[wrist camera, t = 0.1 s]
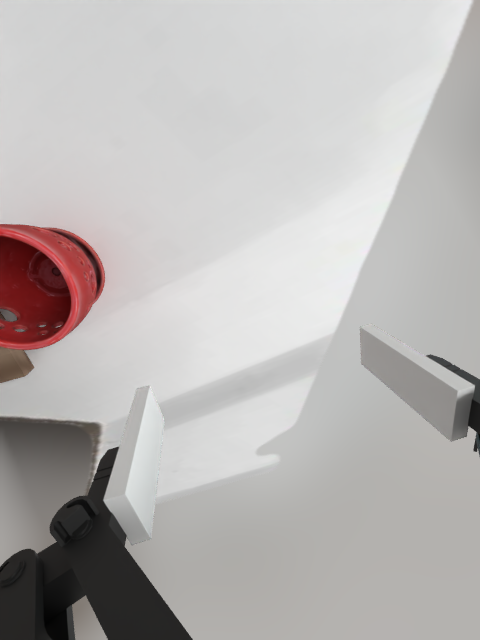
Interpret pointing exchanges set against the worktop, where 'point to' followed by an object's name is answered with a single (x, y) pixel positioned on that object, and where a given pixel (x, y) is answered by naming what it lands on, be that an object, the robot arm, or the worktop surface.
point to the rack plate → (13, 363)
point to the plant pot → (45, 284)
